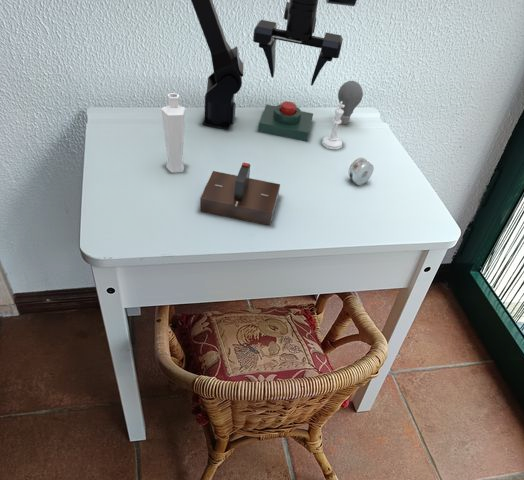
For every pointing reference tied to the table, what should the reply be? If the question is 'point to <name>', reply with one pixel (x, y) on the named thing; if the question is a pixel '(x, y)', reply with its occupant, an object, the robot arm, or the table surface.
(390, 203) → the table surface
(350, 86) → the light bulb
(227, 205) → the panel
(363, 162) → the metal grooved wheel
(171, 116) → the perfume bottle
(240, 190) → the knob
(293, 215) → the table surface
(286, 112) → the button
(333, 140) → the chess piece
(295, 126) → the button box
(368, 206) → the table surface
